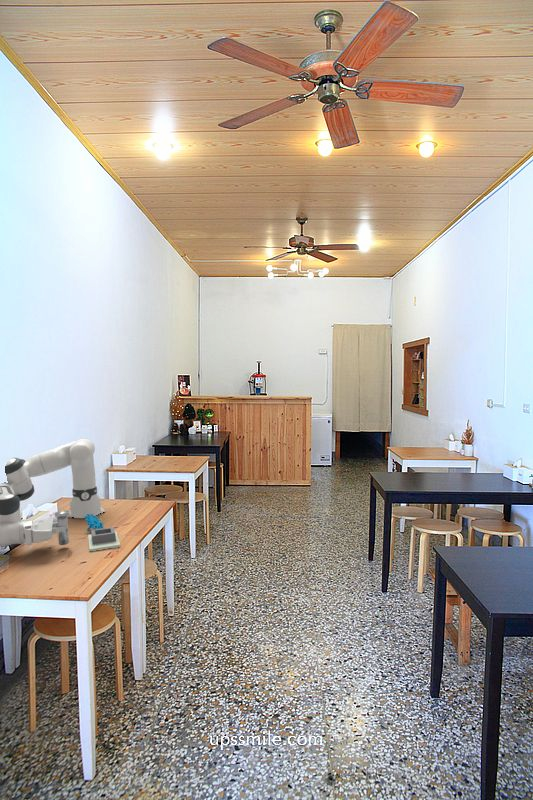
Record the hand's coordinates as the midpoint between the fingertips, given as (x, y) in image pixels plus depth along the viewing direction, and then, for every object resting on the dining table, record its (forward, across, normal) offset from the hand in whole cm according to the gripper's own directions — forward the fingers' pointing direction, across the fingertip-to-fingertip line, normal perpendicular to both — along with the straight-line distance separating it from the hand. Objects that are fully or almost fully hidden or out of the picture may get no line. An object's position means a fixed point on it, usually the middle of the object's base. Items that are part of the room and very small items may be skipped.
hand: (65, 526), depth 209 cm
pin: (-1, 0, -7) cm, 7 cm away
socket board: (+15, 0, -9) cm, 18 cm away
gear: (+12, -21, -10) cm, 26 cm away
